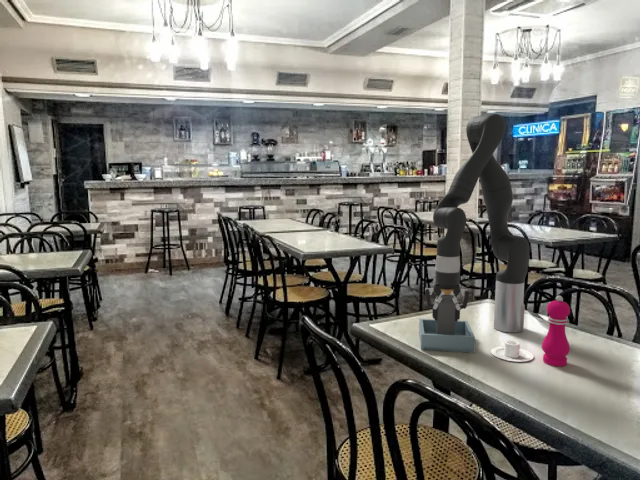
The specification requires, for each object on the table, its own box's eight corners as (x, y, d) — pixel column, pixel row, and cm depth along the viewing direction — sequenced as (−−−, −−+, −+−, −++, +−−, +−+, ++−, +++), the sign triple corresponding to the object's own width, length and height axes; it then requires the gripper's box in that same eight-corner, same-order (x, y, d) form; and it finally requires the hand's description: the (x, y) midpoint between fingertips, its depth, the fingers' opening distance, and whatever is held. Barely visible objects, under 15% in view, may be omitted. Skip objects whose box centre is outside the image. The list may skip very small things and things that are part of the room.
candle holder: (498, 346, 153) (499, 333, 152) (538, 354, 145) (539, 341, 144) (485, 357, 143) (485, 343, 143) (526, 367, 136) (527, 352, 135)
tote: (466, 335, 162) (467, 320, 161) (474, 352, 146) (474, 337, 145) (419, 332, 164) (419, 318, 163) (420, 349, 149) (421, 334, 148)
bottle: (452, 330, 157) (454, 286, 155) (456, 336, 151) (458, 290, 149) (434, 329, 158) (436, 285, 156) (437, 335, 152) (439, 290, 150)
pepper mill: (557, 369, 134) (562, 300, 131) (535, 360, 140) (539, 294, 137) (574, 364, 137) (579, 297, 134) (551, 355, 143) (556, 291, 140)
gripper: (425, 271, 149) (423, 322, 152) (472, 272, 147) (470, 324, 149) (423, 266, 156) (422, 315, 159) (469, 267, 154) (467, 317, 157)
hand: (445, 319), depth 154 cm, fingers closed on bottle, 6 cm apart
